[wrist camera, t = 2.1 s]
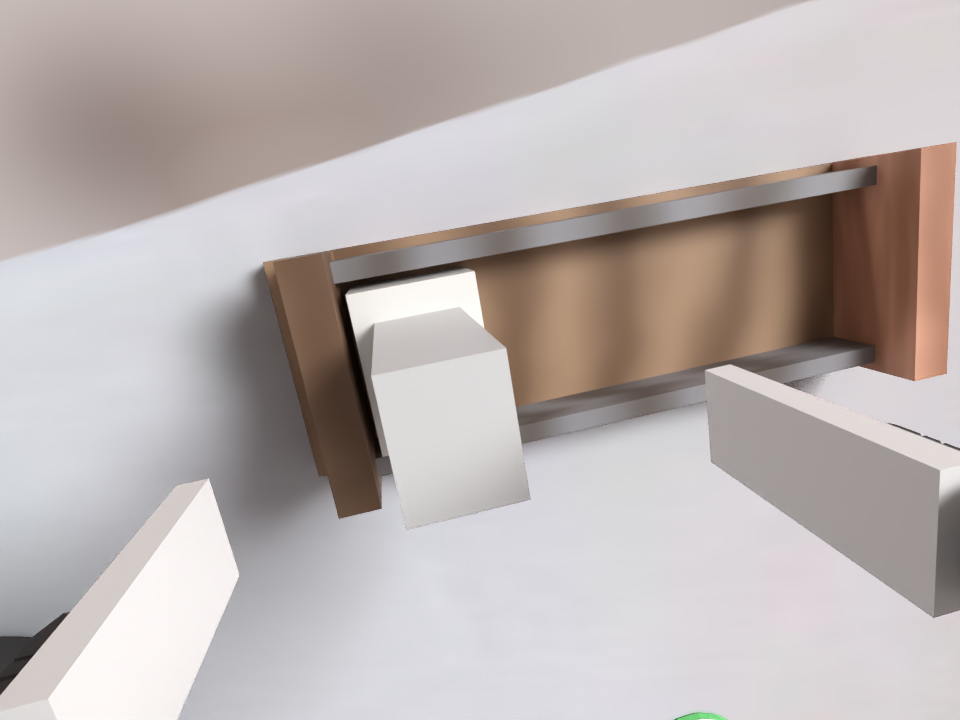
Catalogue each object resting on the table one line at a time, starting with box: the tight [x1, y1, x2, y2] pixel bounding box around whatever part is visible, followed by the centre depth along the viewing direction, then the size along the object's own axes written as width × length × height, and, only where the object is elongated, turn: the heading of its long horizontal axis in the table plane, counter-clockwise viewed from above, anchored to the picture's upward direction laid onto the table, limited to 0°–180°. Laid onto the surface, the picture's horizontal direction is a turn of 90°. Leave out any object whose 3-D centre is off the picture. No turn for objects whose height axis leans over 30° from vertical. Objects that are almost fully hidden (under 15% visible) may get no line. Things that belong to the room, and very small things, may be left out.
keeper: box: [346, 267, 531, 530], centre depth 23 cm, size 6×8×14 cm
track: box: [263, 142, 957, 519], centre depth 30 cm, size 36×12×7 cm, turn 100°
